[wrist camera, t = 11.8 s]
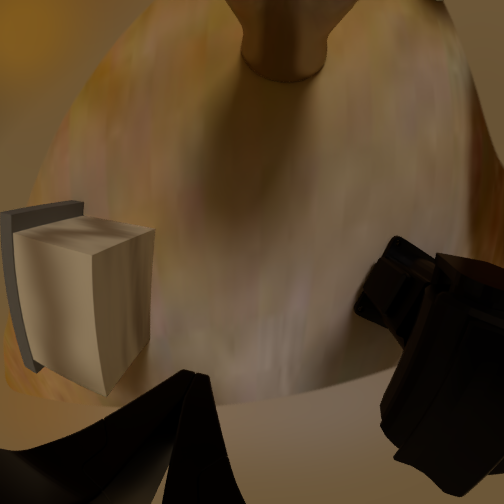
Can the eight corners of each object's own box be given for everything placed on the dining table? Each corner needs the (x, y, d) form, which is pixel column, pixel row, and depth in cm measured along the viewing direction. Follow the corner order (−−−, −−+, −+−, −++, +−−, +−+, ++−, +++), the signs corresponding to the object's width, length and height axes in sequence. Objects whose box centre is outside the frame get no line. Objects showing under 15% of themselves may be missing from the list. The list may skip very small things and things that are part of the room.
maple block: (155, 228, 19) (92, 255, 11) (150, 338, 21) (106, 397, 14) (83, 215, 19) (13, 233, 12) (86, 316, 22) (33, 359, 14)
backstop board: (83, 202, 19) (11, 214, 11) (86, 329, 22) (36, 373, 14) (71, 200, 19) (0, 212, 11) (75, 324, 22) (24, 366, 14)
